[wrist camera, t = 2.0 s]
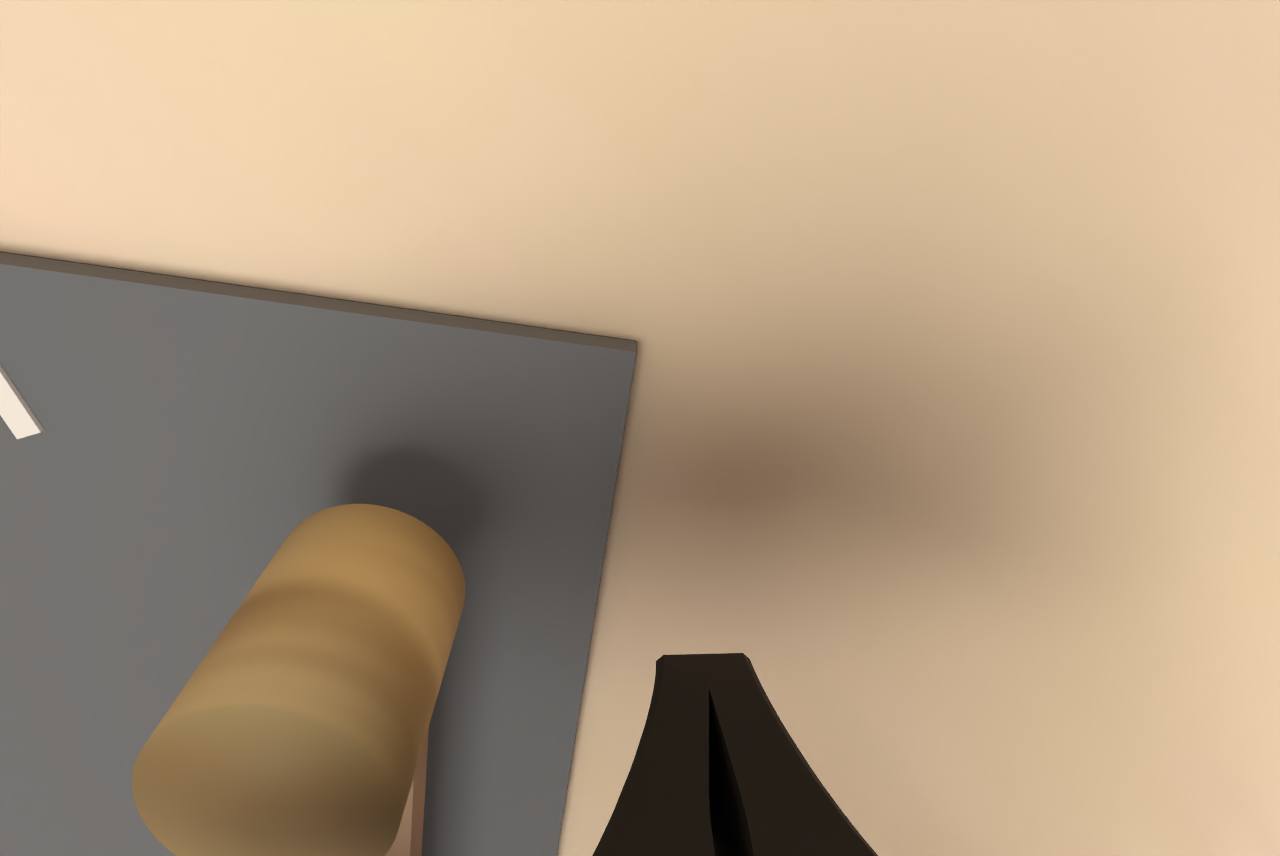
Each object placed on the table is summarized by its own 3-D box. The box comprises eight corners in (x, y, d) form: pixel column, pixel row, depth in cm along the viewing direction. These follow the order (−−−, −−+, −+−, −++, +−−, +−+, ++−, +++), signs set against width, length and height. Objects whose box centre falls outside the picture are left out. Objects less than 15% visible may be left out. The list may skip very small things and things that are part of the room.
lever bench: (530, 1013, 24) (519, 1118, 22) (-157, 959, 23) (-248, 1065, 20) (636, 340, 15) (636, 396, 13) (-475, 185, 14) (-698, 215, 12)
